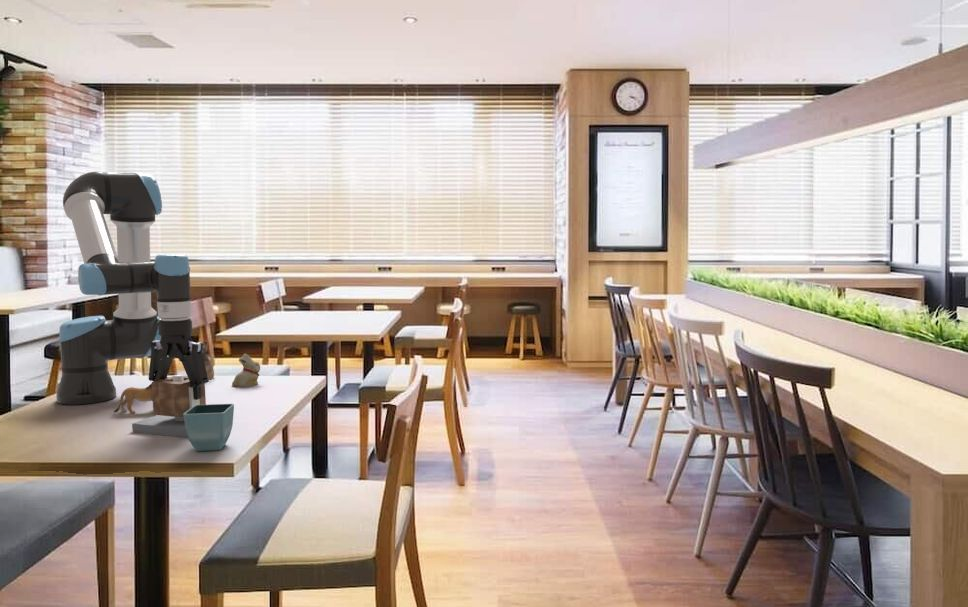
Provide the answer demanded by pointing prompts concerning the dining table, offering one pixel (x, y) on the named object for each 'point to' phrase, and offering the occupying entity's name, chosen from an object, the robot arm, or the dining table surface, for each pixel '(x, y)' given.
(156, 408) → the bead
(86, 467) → the dining table surface
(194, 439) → the flower pot
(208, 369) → the figurine
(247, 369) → the chocolate bunny
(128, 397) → the lion figurine
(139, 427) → the spindle stand
